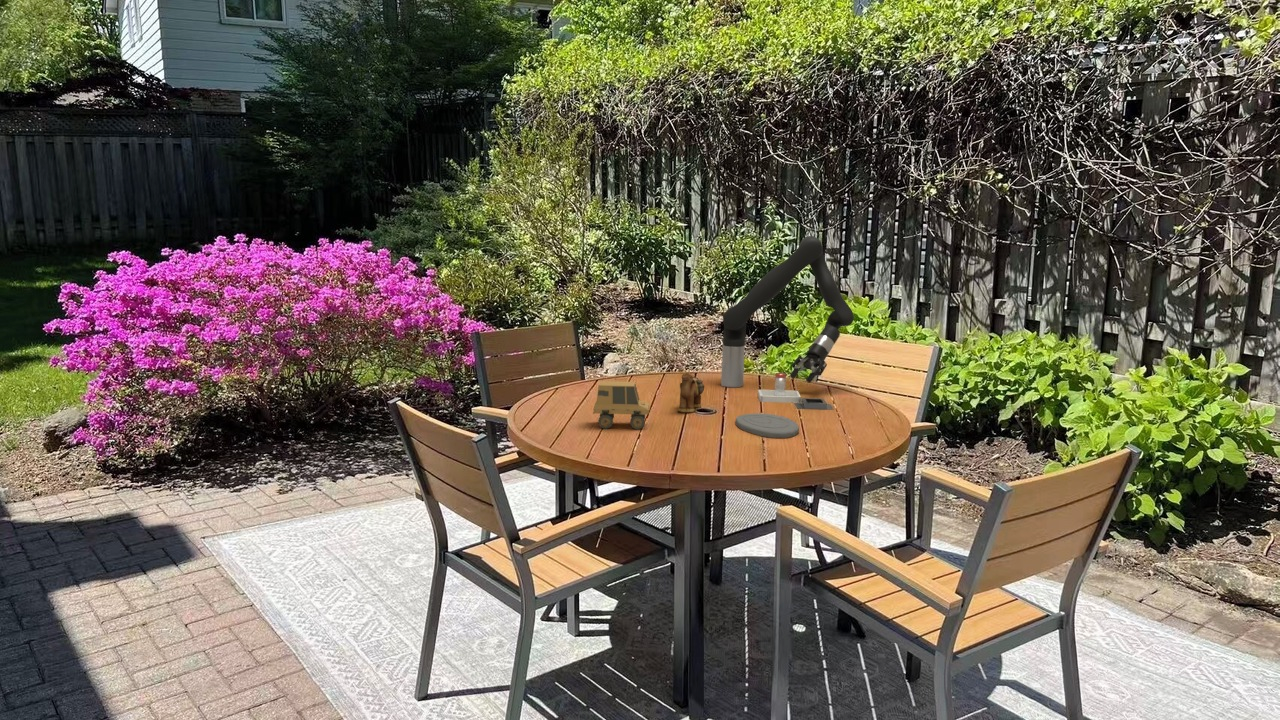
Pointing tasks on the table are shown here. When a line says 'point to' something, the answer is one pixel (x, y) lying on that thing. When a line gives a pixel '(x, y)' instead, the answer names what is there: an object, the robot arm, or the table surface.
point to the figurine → (690, 393)
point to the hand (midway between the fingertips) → (799, 379)
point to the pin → (780, 384)
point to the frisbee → (767, 425)
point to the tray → (788, 398)
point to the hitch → (813, 404)
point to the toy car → (620, 403)
